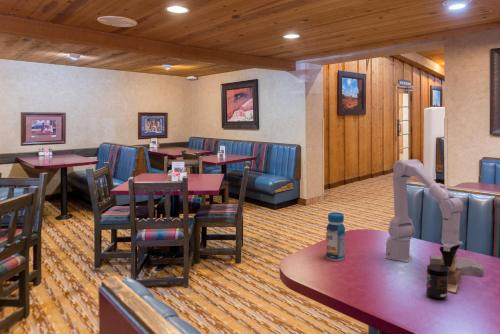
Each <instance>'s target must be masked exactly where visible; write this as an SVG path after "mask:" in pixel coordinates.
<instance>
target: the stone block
mask: <svg viewBox="0 0 500 334" xmlns="http://www.w3.org/2000/svg"><path fill="white" fill-rule="evenodd" d="M455 270H458V271H461V276H465V277H466V276H468V277H473V276H474V277H483V276H484V266H483V265H482V264H481V263H478V261H477V260H476V258H466V257H457V262H456V269H455Z"/></svg>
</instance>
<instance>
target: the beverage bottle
mask: <svg viewBox="0 0 500 334" xmlns="http://www.w3.org/2000/svg"><path fill="white" fill-rule="evenodd" d="M327 221H328V224H327V225H326V228H325V229H326V233H325V237H326V251H325V252H326V254H325V255H326V257H325V258H327V259H328V260H331V261H336V262H337V261H338V262H339V261H343V260H344V259H345V257H346V253H345V251H346V249H345V247H346V233H345V231H346V228H345V225H344V221H345V220H344V214H343V213H342V212H329V213H328V215H327Z"/></svg>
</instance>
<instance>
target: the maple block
mask: <svg viewBox="0 0 500 334" xmlns="http://www.w3.org/2000/svg"><path fill="white" fill-rule="evenodd" d="M441 256H442V255H441ZM457 256H458V255H457V254H456V255H454V257H453V262H452V265H451V267H448V269H449V271H453V272H454V271H455V269H456V262H457V258H458V257H457ZM441 265H443V266H445V265H444V260H443V256H442V257H441ZM446 267H447V266H446Z"/></svg>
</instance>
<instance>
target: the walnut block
mask: <svg viewBox="0 0 500 334" xmlns="http://www.w3.org/2000/svg"><path fill="white" fill-rule="evenodd" d="M461 280H462V275H461V271H458V270H455V271H454V272H453V271H449V274H448V284H452V285H457V286H458V284H459V282H460V281H461Z"/></svg>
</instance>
